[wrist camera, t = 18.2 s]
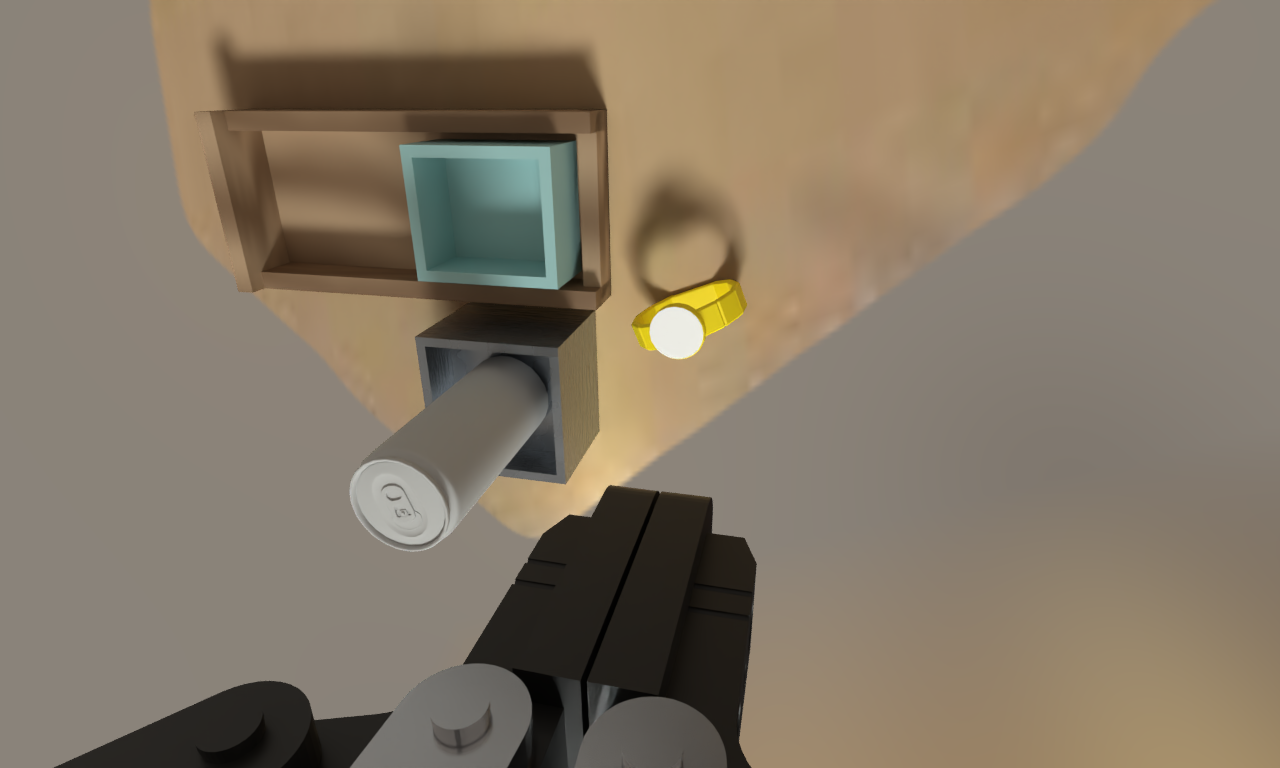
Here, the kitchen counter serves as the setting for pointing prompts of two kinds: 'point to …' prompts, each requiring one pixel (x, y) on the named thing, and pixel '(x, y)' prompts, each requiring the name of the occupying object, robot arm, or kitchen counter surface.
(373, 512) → the beverage can
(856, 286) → the kitchen counter surface
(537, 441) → the open metal box
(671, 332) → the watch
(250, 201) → the bay
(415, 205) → the box
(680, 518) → the robot arm
